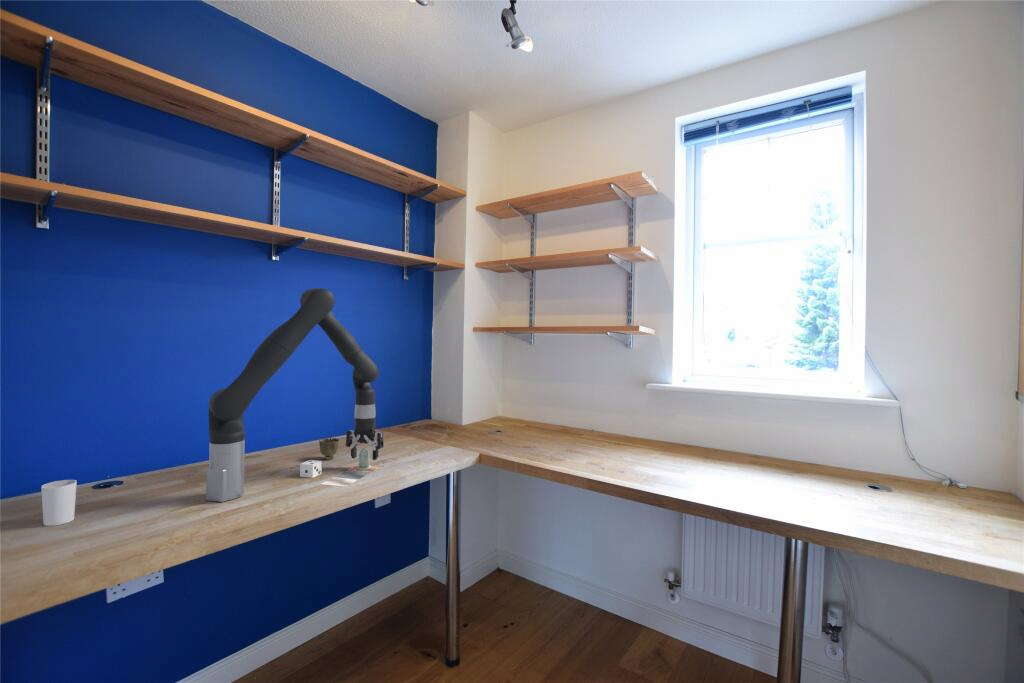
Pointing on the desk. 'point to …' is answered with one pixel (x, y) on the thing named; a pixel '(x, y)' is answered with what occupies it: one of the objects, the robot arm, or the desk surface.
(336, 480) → the game strip
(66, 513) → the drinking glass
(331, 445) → the cup
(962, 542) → the desk surface
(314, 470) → the die
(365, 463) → the pawn
